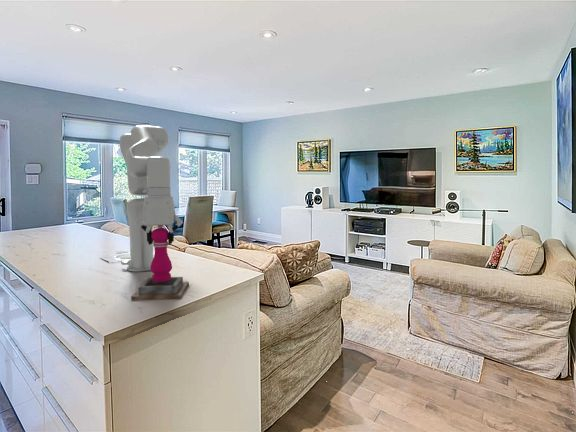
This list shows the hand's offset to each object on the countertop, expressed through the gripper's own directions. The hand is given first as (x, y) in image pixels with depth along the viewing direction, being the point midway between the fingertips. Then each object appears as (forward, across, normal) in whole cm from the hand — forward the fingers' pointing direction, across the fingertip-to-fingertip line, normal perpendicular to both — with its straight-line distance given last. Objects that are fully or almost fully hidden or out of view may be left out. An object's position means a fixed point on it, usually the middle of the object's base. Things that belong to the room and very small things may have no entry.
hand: (160, 243), depth 123 cm
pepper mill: (+13, 0, 0) cm, 13 cm away
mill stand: (+18, 0, 0) cm, 18 cm away
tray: (+18, -29, +61) cm, 70 cm away
